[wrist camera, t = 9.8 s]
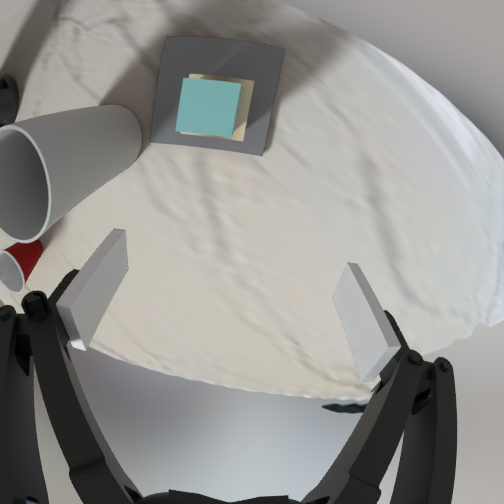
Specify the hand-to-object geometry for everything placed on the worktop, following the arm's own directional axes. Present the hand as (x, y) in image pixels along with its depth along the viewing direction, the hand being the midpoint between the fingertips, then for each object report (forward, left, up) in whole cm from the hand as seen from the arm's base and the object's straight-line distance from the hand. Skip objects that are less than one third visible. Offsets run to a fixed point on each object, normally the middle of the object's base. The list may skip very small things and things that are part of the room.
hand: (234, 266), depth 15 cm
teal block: (-4, +8, -17) cm, 19 cm away
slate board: (-6, +10, -31) cm, 33 cm away
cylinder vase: (-23, +1, -31) cm, 39 cm away
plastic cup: (-47, -24, -31) cm, 61 cm away
